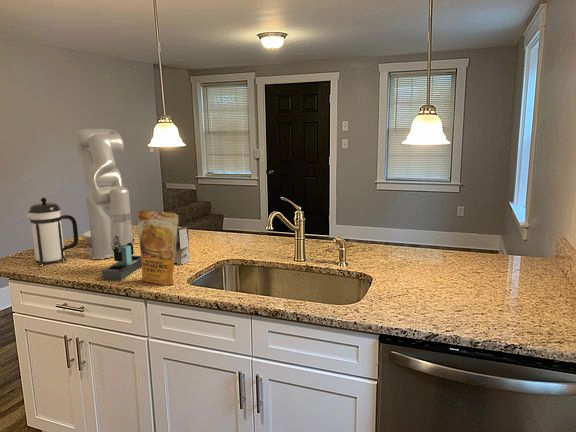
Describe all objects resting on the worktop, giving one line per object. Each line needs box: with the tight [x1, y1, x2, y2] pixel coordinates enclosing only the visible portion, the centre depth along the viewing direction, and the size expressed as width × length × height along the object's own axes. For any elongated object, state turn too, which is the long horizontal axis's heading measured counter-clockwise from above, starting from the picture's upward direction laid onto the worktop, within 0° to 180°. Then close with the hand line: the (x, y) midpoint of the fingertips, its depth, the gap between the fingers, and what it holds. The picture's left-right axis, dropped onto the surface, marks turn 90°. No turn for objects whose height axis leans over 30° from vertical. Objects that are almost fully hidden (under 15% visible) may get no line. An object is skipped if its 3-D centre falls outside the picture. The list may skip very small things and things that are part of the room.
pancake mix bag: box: [136, 209, 180, 286], centre depth 174 cm, size 7×19×28 cm, turn 64°
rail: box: [101, 255, 142, 281], centre depth 189 cm, size 8×22×4 cm, turn 172°
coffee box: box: [174, 225, 191, 265], centre depth 201 cm, size 9×6×16 cm
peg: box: [117, 245, 133, 265], centre depth 188 cm, size 4×4×11 cm
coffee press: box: [25, 197, 79, 266], centre depth 204 cm, size 17×16×30 cm
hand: (124, 257), depth 188 cm, fingers open, 9 cm apart
